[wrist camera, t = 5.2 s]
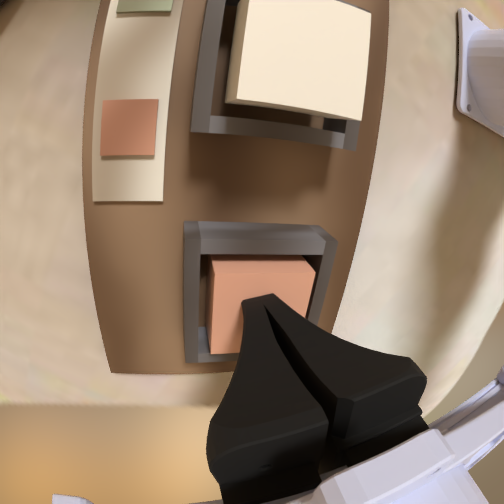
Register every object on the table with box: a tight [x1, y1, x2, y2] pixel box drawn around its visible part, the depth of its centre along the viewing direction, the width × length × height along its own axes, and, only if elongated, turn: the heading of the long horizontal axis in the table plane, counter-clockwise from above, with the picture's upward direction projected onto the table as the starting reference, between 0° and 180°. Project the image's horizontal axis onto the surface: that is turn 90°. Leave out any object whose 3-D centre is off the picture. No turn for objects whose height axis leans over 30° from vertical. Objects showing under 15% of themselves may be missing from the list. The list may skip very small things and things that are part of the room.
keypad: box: [82, 0, 389, 374], centre depth 10 cm, size 13×32×3 cm, turn 174°
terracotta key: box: [205, 254, 316, 354], centre depth 13 cm, size 4×4×2 cm
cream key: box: [225, 0, 371, 121], centre depth 8 cm, size 4×4×2 cm
